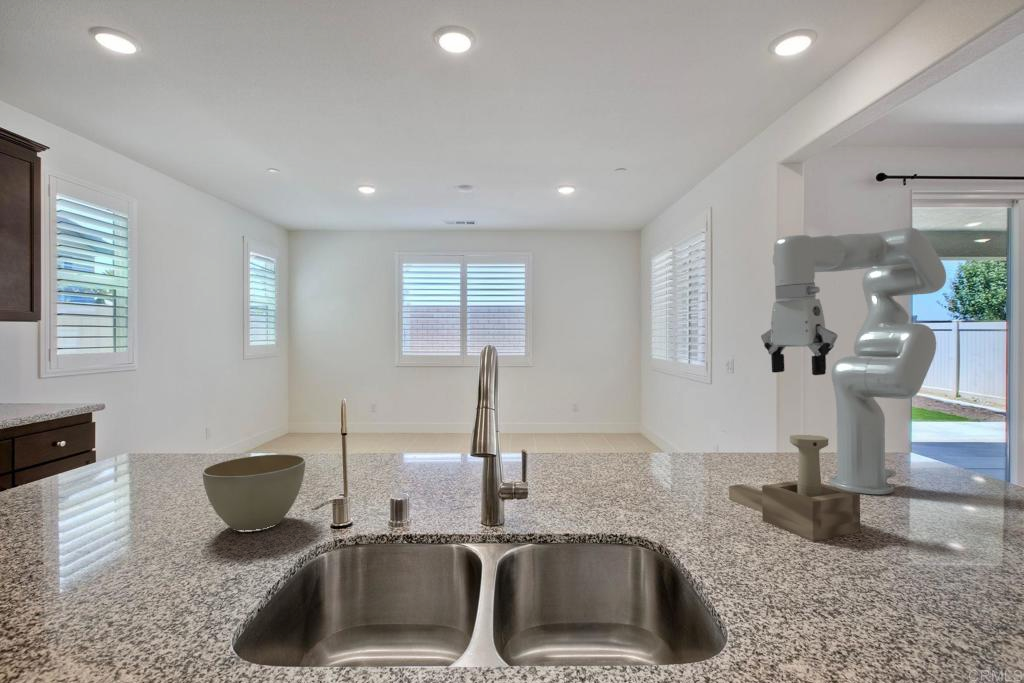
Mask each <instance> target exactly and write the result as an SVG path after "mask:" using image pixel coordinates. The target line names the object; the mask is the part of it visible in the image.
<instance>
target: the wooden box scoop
mask: <svg viewBox="0 0 1024 683" xmlns="http://www.w3.org/2000/svg"><path fill="white" fill-rule="evenodd" d="M797 482H798V480H792V481H785V482H777V483H770V484H763V485H761V487H762V488H761V489H758V488H757V487H756V488H755V487H752V486H749V485H747V484H743V483H742V484H741V483H740V484H735V485H729V486H728V500H729V499H730V500H729V501H732V502H735V503H738V504H740V503H741V504H740V505H742V504H743V506H745V507H747V506H748V508H750V509H752V510H755V509H756V510H755V511H758V512H761V513H762V514H761V515H762V517H761V518H762V520H761V522H764V521H765V522H764V523H767V522H768V523H767V524H769V523H770V524H769V525H771V524H772V526H774V525H775V526H774V527H776V526H777V528H779V529H780V530H781V529H782V530H784V531H787V532H789V533H790V534H793V535H796V536H799V537H801V538H804V539H806V540H809V541H811V542H816V541H817V540H818V541H823V540H827V539H832V537H833V538H836V537H842V535H843V536H848V535H853V534H858V533H861V493H857V492H851V491H847V490H843V489H839V488H837V487H834V486H833V485H828V484H825V483H822V482H821V496H816V497H808V496H805V495H802V494H798V490H797V488H798V487H797V484H798V483H797Z"/></svg>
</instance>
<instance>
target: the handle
mask: <svg viewBox="0 0 1024 683" xmlns="http://www.w3.org/2000/svg"><path fill="white" fill-rule="evenodd" d="M789 443H790V444H791V445H793V446H794V447H796V448H798V466H797V467H798V468H797V481H798V482H797V483H798V484H797V487H798V488H797V490H798V494H802V495H805V496H808V497H816V496H821V483H822V478H821V477H822V476H821V467H820V465H821V464H820V462H821V461H820V452H821V450H822V449H824V448H826V447H828V446H829V437H825V436H822V435H814V434H813V435H812V434H795V435H794V434H793V435H790V436H789Z"/></svg>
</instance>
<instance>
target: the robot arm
mask: <svg viewBox="0 0 1024 683" xmlns="http://www.w3.org/2000/svg"><path fill="white" fill-rule="evenodd" d="M773 244H774V245H773V256H772V262H773V268H774V269H773V270H774V291H775V301H774V302H773V304H772V310H771V319H770V329H769V330H767V331H766V332H764V333H763V334H761V336H760V338H761V341H762V343H763V344H764V345H763V346H764V348H765V349H766V350H767V351H768V354H769V355H770V356H771V359H770V360H771V372H772V373H784V372H785V355H784V353H783V351H784V350H785V348H786V347H794V348H795V347H796V348H797V347H800V348H801V347H804V348H805V347H807V348H809V349H810V351H811V352H812V353H813V355H811V375H813V376H822V375H825V374H827V373H826V370H827V363H826V362H827V358H826V356H827V355H829V353H830V352H831V350H832V349H833V348H834V347H835V342H836V341H837V339H838V334H837V333H836V332H834V331H831V330H829V329H828V328H826V323H825V322H826V321H825V316H824V311H823V306H822V304H821V300H820V299H819V298H816V294H819V293H820V287H819V286H816V275H815V274H816V273H824V272H825V273H829V272H831V273H834V272H845V271H857V270H864V269H865V270H866V269H868V270H866V272H864V274H863V276H862V284H861V285H862V290H863V294H864V298H865V302H866V306H867V310H868V312H867V315H866V317H865V320H864V322H863V323H862V326H861V328H860V329H859V332H858V334H857V336H856V338H855V340H854V343H853V353H854V354H855V355H852V356H851V355H850V356H846V357H842V358H840V359H838V360H837V361H835V363H834V364H833V366H832V368H831V374H830V375H831V382H832V386H833V390H834V395H835V401H836V402H835V403H836V404H835V405H836V406H835V407H836V468H837V471H836V474H837V475H836V476H832V477H830V478H829V483H830V486H832V487H836V488H839V489H843V490H847V491H850V492H854V493H857V494H865V495H889V494H892V493H893V492H894V491H895V490H894V488H895V487H894V485H893V484H891V483H889V482H888V480H887V479H890V478H895V477H896V475H897V472H896V470H895V469H893V468H889V469H887V468H886V437H885V436H886V435H885V434H886V428H885V427H886V424H885V423H886V422H885V421H886V420H885V413H884V412H883V409H882V408H881V406H880V405H879V403H878V402H877V401H876V399H875V398H881V399H896V400H897V399H898V400H899V399H900V400H907V399H911V398H913V397H915V396H916V395H917V394H919V392H920V390H921V388H922V385H923V384H924V382H925V380H926V377H927V374H928V372H929V369H930V367H931V365H932V363H933V361H934V358H935V356H936V350H937V339H936V334H935V332H934V331H933V330H932V328H931V327H930V326H928V325H926V324H922V323H917V322H916V323H914V322H913V323H911V322H910V323H909V321H910V320H909V319H910V317H909V313H908V312H907V310H906V309H905V307H903V306H902V305H901V304H900V303H899V302H898V301H896V300H895V299H894V297H900V296H901V297H903V296H913V295H914V296H916V295H927V294H929V295H930V294H933V293H936V292H939V291H940V290H941V289H943V288H944V286H945V284H946V282H947V272H946V269H945V266H944V263H943V262H942V260H941V259H940V257H939V255H938V253H937V251H936V250H935V249H934V247H933V245H932V244H931V242H930V240H928V238H927V236H925V234H924V233H923V232H922V231H920V230H919V229H917V228H914V227H902V228H898V229H892V230H885V231H879V232H871V233H870V232H869V233H846V234H840V235H835V236H834V235H820V236H809V235H805V234H801V235H800V234H799V235H789V236H785V237H781V238H779V239H778V238H777V240H775V242H774V243H773Z"/></svg>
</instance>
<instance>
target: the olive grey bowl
mask: <svg viewBox="0 0 1024 683" xmlns="http://www.w3.org/2000/svg"><path fill="white" fill-rule="evenodd" d="M305 469H306V458H305V457H303V456H302V455H301V456H300V455H296V454H284V453H283V454H282V453H281V454H280V453H279V454H277V453H276V454H263V455H261V454H260V455H252V456H245V457H239V458H232V459H229V460H225V461H224V460H223V461H221V462H217V463H213V464H211V465H209V466H206V467H205V468H203V470H202V481H203V486H204V489H205V493H206V495H207V498H208V501H209V502H210V505H211V507H212V508H213V510H214V512H215V513H216V514H217V515H218V517H219V518H220V519H221V520H222V521H223V522H224V524H226V525H227V526H228V527H229V528H230V529H231V528H232V529H231V530H233V529H235V530H244V531H245V530H256V529H263V528H267V527H270V526H273V525H276V524H278V523H279V522H280V523H281V522H282V521H283V519H284V518H285V517H286V515H287V514H288V512H289V511H290V510H291V508H292V507H293V506H294V503H295V501H296V500H297V497H298V495H299V493H300V489H301V487H302V484H303V479H304V475H305ZM280 523H279V524H280ZM279 524H278V525H279ZM276 526H277V525H276Z"/></svg>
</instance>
